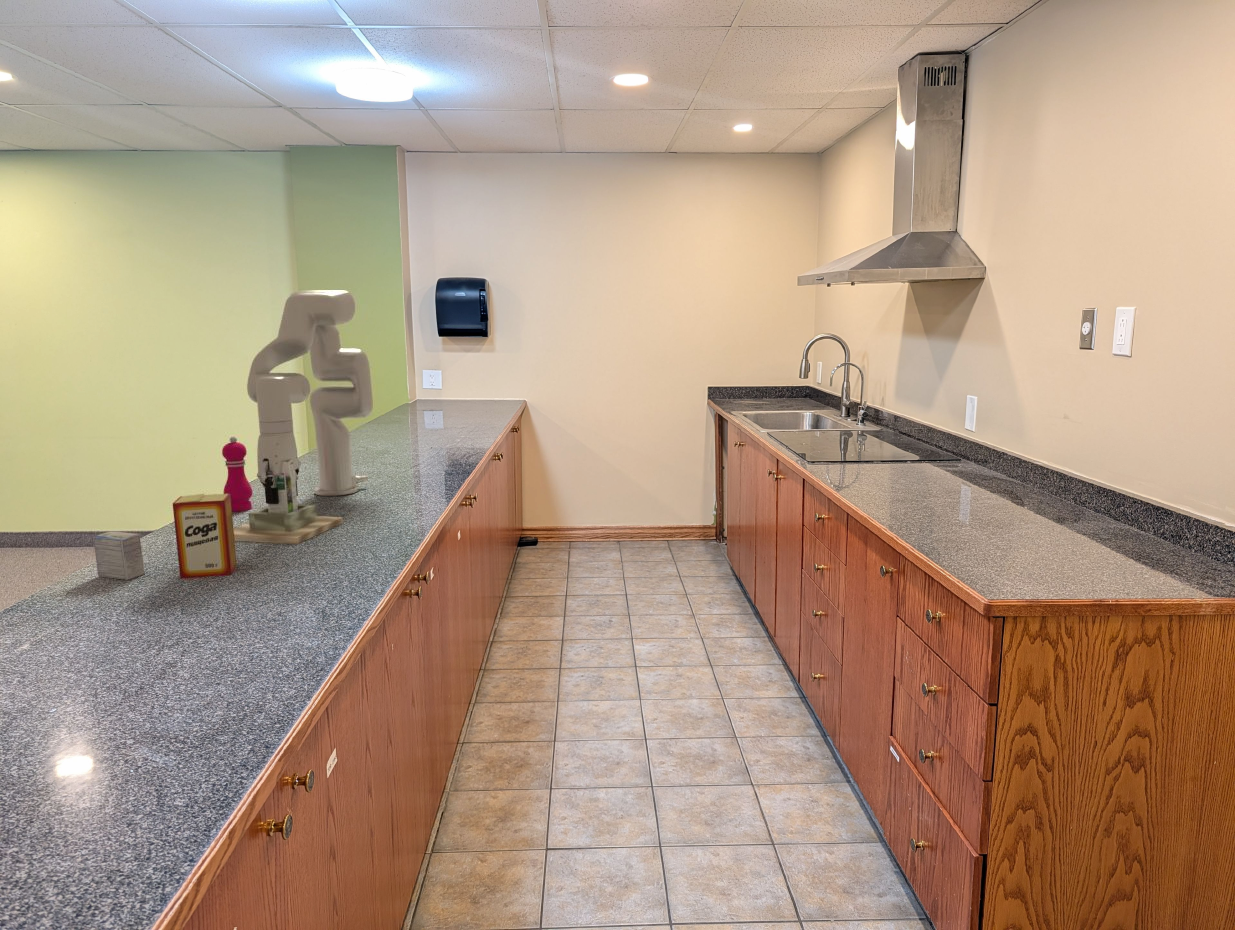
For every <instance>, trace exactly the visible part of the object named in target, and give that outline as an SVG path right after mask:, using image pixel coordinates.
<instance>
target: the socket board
mask: <svg viewBox="0 0 1235 930" xmlns="http://www.w3.org/2000/svg"><path fill="white" fill-rule="evenodd" d="M297 505H298V510H296V511H293V512H291V513H288V514H282V513H269V509H268V505H267V506H264V507H262V508H260V509H257V510H254V511H251V512H248V522H247V523H245V524H242V525H239V526H236V527H233V529H234V540H235V541H237V542H238V541H240V542H257V543H272V544H288V545H289V544H290V545H299V544H301V543H303V542H305V541H307V540H310V539H312V538H315V537H316V536H318V535H320V534H322V533H325V532H327V531H328V530H329V531H330V530H331V529H333V528H335V526H336V527H337V526H340V525H342V524H344V521H343V519H344V517H342V516H326V515H325V516H324V515H323V516H322V515H320V516H319V515H317V507H316V506H317V505H316V504H299V503H297Z"/></svg>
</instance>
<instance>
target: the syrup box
mask: <svg viewBox="0 0 1235 930" xmlns="http://www.w3.org/2000/svg"><path fill="white" fill-rule="evenodd" d="M268 474H272V475H273V473H272V472H268ZM269 479H270V480H271V482H272V478H269ZM276 487H278V495H279V503H278V504H267V506H268V509H269V513H282V514H288V513H291V512H293V511H296V510H298V505H297V504H298V496H297V492H296V480H295V470H294V467H293V462H292V459H290V460H287V461H285V462H283V469H282V475H280V476H278V479H277V483H276Z"/></svg>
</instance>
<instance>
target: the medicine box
mask: <svg viewBox="0 0 1235 930" xmlns="http://www.w3.org/2000/svg"><path fill="white" fill-rule="evenodd" d="M92 539H93V548H94V554H95V560H96V561H95V562H96V569H97V571H96V572H97V576H98V577H99V578H106V579H107V578H109V579H117V580H124V581H128V580H133V579H134V578H137V577H140V576H143V575H145V564H144V558H143V550H142V541H141V535H140V533H134V532H133V533H131V532H124V531H123V532H122V531H114V530H113V531H112V530H111V531H108V532H104V533H101V534H97V535H94V536H93V537H92Z"/></svg>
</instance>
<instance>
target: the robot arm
mask: <svg viewBox="0 0 1235 930" xmlns="http://www.w3.org/2000/svg"><path fill="white" fill-rule="evenodd" d="M355 311H356V302H355V298H354V296H353V295H352V294H351V293H350V292H349V291H347V290H338V289H337V290H321V289H320V290H318V289H315V290H312V289H311V290H310V289H308V290H299V291H294V292H293V293H291V294H290V296H289V297H287V299H286V300H285V303H284V308H283V311H282V315H281V316H282V317H281V319H280V325H279V328H278V329H279V330H278V334H277V337H276V338H274V339H273V340H271V341H270V342H269V343H268V344H267V345H265V346H264V347H263V348H262V349H261V350H260V351H258V353H257V354H256V355H255V357H254V358H253V360H252V362H251V365H250V367H249V368H250V369H249V373H248V377H247V384H246V389H247V395H248V397H249V399H250V400H251V401H252V402H254V403H256V406H257V413H258V415H257V417H258V427H259V435H258V438H257V449H256V450H257V451H256V452H257V456H256V457H257V459H256V460H257V474H256V477H257V479H258V480H259V482H260V483H261V484H262V487H263V489H264V495H265V498H264V499H265V503H266V504H267V505H268V504H278V503H279V495H278V487H276V483H277V479H278V476H280V475H282V469H283V462H285V461H287V460H290V459H292V462H293V467H294V470H295V480H296V492H297V497H299V492H298V480H299V476H298V475H299V473H300V468H301V466H302V462H301V460H300V459H299V458H298V449H297V442H296V437H295V434H294V421H293V420H294V419H293V410H292V409H293V407H292V404H299V403H300V404H301V403H303V402H304V401H307V399H308V397H309V404H310V405H309V406H310V409H311V410H310V411H311V412H312V413H311V414H312V417H313V422H314V430H315V442H316V458H317V471H318V473H317V474H318V484H319V486H317V487H315V488H314V489H313V493H314V494H315V495H317V496H323V497H332V496H333V497H334V496H335V497H336V496H344V495H351V494H354V493H357V492H359V490H360V489H359V485H358V484H359V483H364V482H368V476H367V475H360V476H359V475H356V474H353V467H352V450H351V436H350V435H351V434H350V430H349V428H348V427H347V425H346V424H345V423H344V422H343V421H342V420H343V419H364V418H367V417H370V415H371V414H372V412H373V407H374V404H373V403H374V402H373V391H372V390H373V388H372V381H371V380H372V378H371V369H370V361H369V359H368V355H367V354H366V352H365V351H363V350H362V349H359V348H343V347H342V346H341V339H340V332H339V329H338V327H337V326H339V325H343V324H346V323H348V322H350V321H351V320H352V319H353V317H354V316H355V313H356V312H355ZM307 353H309V356H310V365H311V372H312V374H313V376H314V378H315V380H317V381H319V382H324V383H325V382H326V383H327V382H328V383H333V382H334V383H343V382H346V383H347V382H348V383H351V384H352V385H323V386H322V385H321V386H319V387H316V388H314V389H313V390H312V391H311V385H310V382H309V379H308V378H307V377H306V376H305V375H303V374H302V373H296V372H271V371H272V370H274V369H275V368H277V367H279V366H280V365H282V364H285V363H287V362H290V361H292V360H296V359H297V358H300V357H302V356H304V355H306V354H307ZM310 392H311V393H310ZM309 395H310V396H309ZM268 472H272V473H273V475H272V474H268ZM269 478H272V482H271V480H270V479H269Z"/></svg>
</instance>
